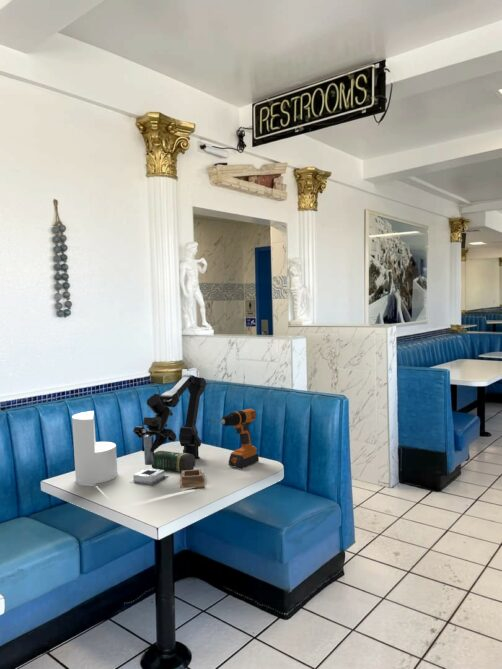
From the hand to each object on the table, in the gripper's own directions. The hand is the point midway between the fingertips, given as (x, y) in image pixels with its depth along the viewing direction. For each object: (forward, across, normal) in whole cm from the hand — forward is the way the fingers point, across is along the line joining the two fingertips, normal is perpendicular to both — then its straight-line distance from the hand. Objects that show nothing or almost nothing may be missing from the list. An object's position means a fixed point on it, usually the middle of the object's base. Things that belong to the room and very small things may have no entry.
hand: (147, 451), depth 214 cm
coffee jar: (-5, -8, +19) cm, 21 cm away
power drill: (-13, +27, +32) cm, 44 cm away
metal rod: (+3, 0, +5) cm, 6 cm away
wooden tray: (+5, +17, +14) cm, 23 cm away
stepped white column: (+12, -25, +8) cm, 29 cm away
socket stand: (+9, 0, +10) cm, 14 cm away
